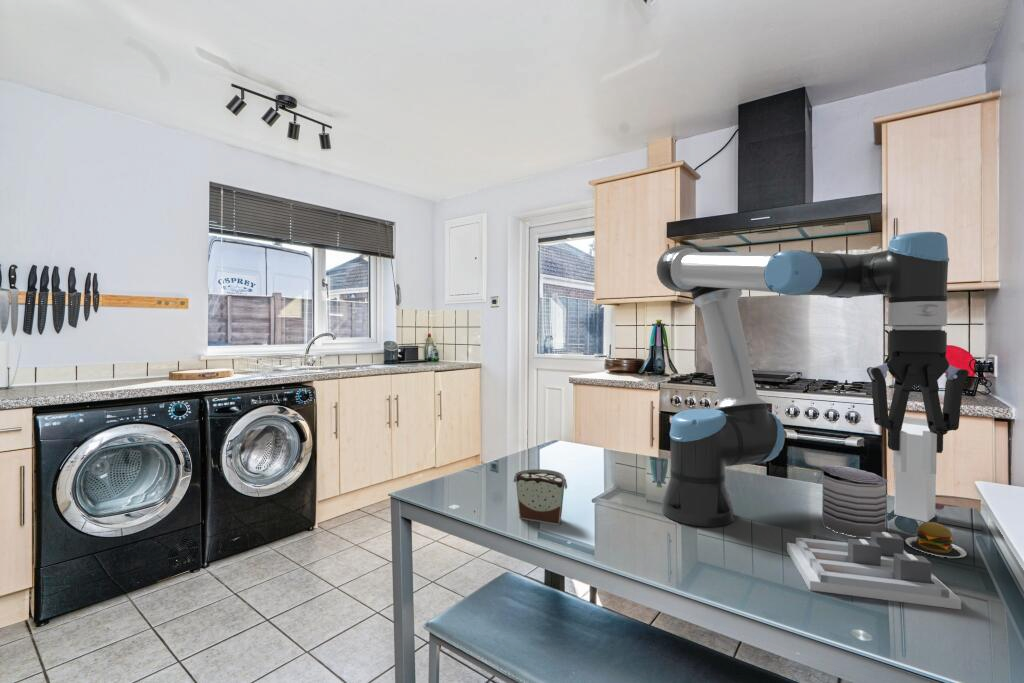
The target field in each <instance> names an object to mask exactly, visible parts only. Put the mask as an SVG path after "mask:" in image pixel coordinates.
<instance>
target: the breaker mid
mask: <svg viewBox="0 0 1024 683" xmlns="http://www.w3.org/2000/svg"><path fill="white" fill-rule="evenodd" d="M847 543H848V562H849V563H856V564H865V565H874V566H881V547H880V546H879V545H878V544H877V543H876V542H875V541H871V540H868V539H866V538H847Z"/></svg>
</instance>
